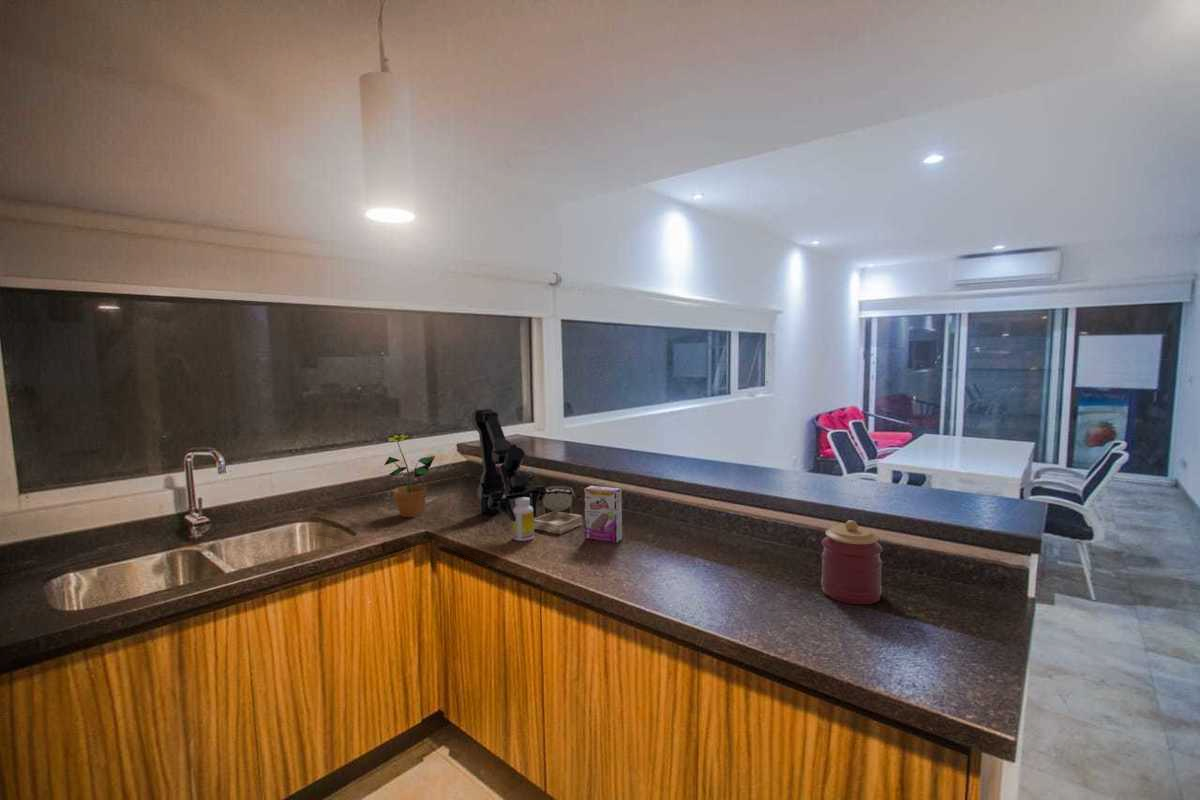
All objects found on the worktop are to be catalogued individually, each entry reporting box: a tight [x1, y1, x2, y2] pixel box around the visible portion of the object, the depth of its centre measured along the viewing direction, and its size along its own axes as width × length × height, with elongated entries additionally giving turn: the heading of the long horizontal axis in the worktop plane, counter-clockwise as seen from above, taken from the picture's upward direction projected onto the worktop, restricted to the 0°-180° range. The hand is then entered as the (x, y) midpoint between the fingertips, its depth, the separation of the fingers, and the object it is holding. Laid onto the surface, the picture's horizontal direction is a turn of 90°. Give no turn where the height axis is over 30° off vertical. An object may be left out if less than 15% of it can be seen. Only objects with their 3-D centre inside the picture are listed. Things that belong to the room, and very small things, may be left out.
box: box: [534, 511, 584, 535], centre depth 183 cm, size 12×12×3 cm
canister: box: [820, 519, 883, 605], centre depth 126 cm, size 13×13×18 cm
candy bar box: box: [583, 485, 623, 544], centre depth 168 cm, size 11×5×16 cm, turn 65°
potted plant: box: [384, 433, 436, 519], centre depth 199 cm, size 18×19×30 cm
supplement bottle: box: [512, 497, 535, 542], centre depth 171 cm, size 7×7×13 cm
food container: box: [542, 485, 575, 515], centre depth 196 cm, size 12×6×10 cm, turn 84°
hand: (524, 519), depth 169 cm, fingers closed on supplement bottle, 6 cm apart
